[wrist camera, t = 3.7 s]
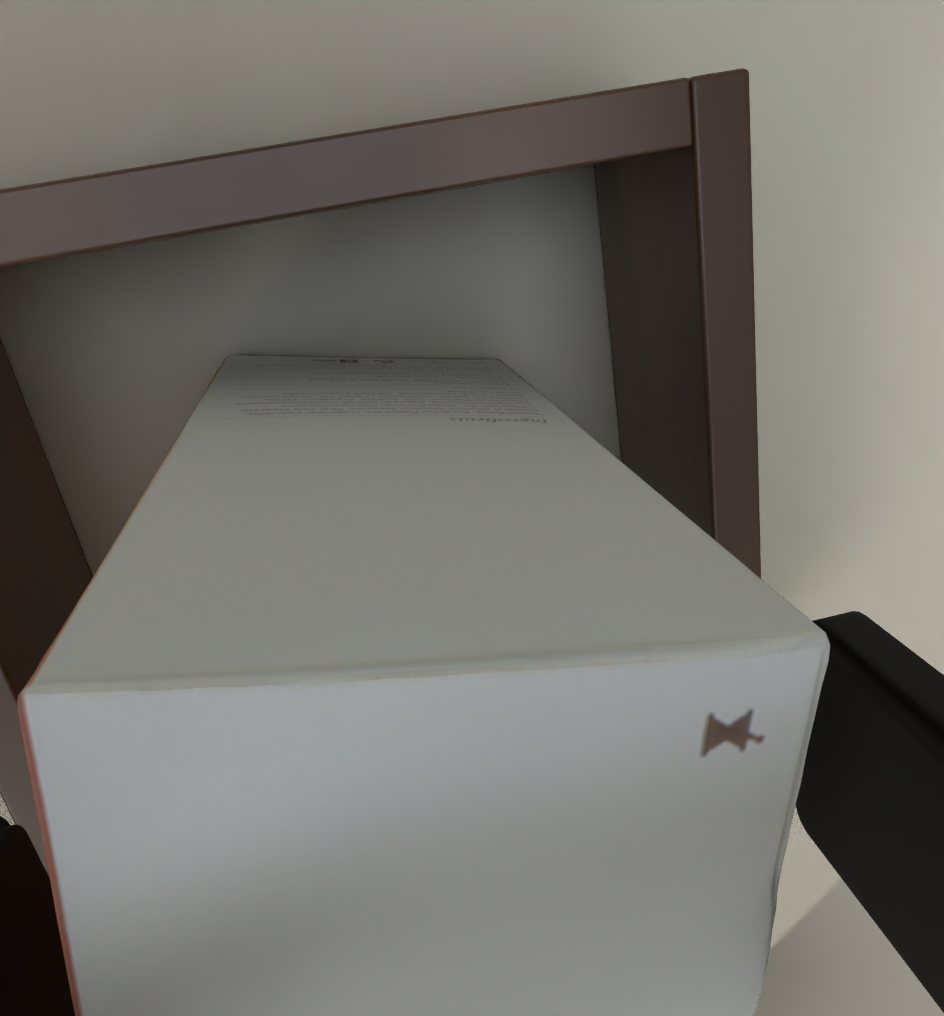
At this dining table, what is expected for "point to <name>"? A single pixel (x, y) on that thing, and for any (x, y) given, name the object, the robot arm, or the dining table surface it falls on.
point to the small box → (415, 718)
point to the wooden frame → (416, 171)
